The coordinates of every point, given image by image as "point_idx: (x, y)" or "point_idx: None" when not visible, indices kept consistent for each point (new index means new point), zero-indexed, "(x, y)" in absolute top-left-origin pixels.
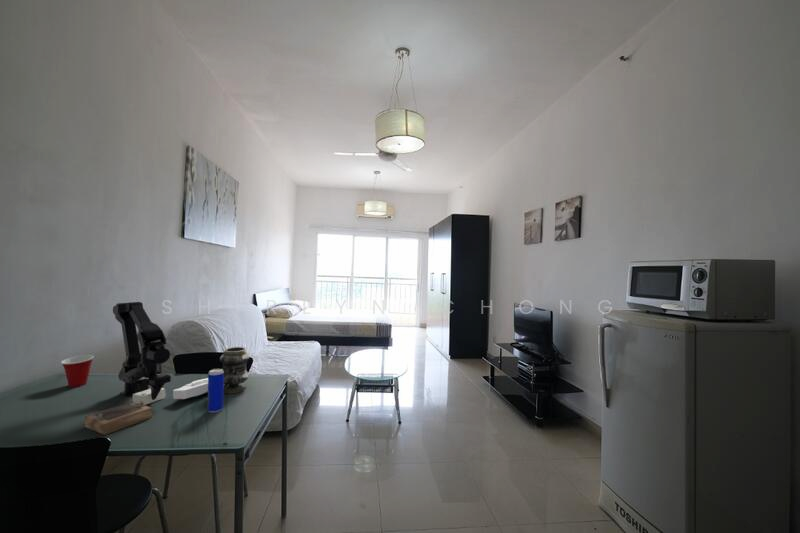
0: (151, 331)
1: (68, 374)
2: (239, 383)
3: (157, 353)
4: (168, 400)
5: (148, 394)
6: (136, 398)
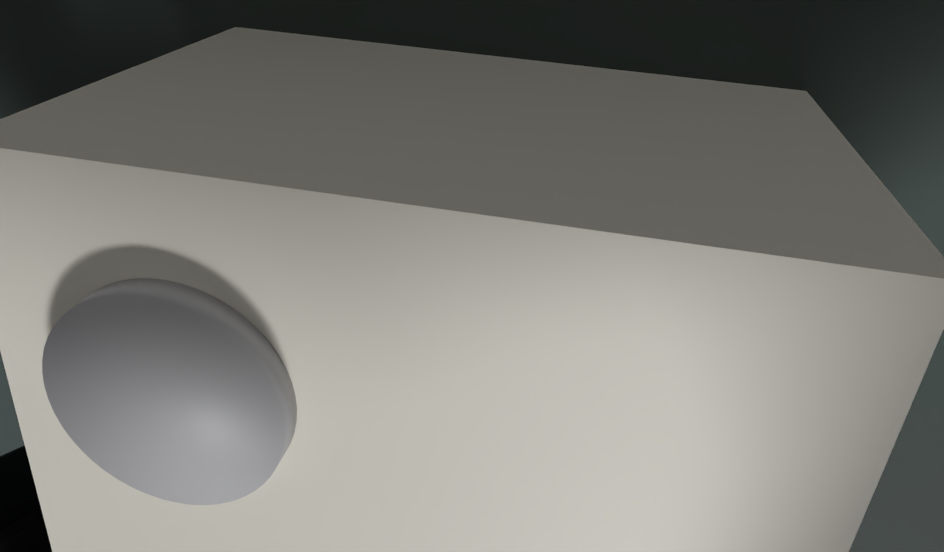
0: None
1: None
2: None
3: None
4: None
5: (33, 447)
6: (537, 140)
